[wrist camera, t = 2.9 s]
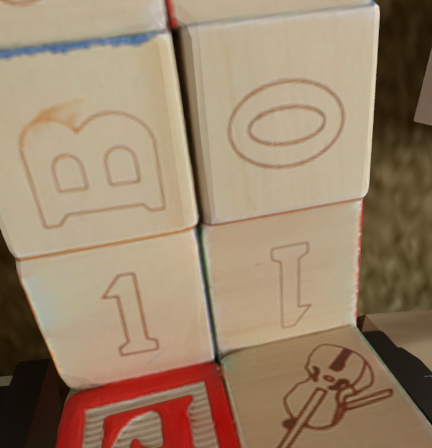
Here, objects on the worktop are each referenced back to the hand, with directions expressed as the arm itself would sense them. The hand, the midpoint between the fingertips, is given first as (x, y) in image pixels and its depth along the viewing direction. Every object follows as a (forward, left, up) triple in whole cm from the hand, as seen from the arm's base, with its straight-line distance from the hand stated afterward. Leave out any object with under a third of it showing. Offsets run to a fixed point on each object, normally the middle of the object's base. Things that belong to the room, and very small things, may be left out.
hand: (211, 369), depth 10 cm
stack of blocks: (-1, 0, -8) cm, 8 cm away
